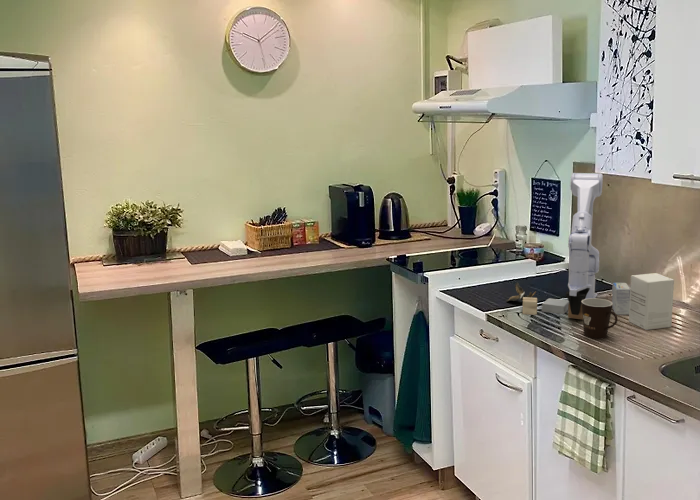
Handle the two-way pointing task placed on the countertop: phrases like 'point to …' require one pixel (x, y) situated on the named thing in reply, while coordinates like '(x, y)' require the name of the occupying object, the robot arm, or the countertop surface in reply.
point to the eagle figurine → (520, 293)
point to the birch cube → (529, 306)
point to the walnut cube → (573, 314)
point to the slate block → (555, 306)
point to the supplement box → (651, 301)
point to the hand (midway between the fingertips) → (577, 312)
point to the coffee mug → (597, 317)
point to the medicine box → (621, 298)
